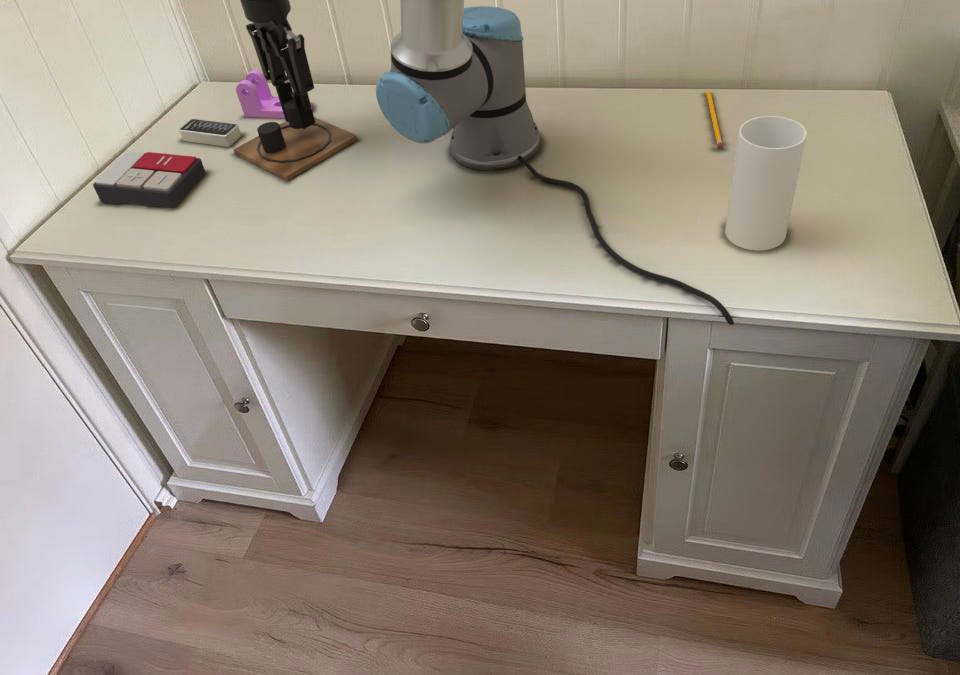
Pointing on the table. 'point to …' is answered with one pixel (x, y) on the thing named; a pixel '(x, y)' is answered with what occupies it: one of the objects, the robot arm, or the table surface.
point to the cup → (764, 181)
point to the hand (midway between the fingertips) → (300, 121)
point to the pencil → (714, 119)
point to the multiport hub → (210, 132)
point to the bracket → (258, 97)
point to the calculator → (149, 179)
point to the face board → (297, 148)
